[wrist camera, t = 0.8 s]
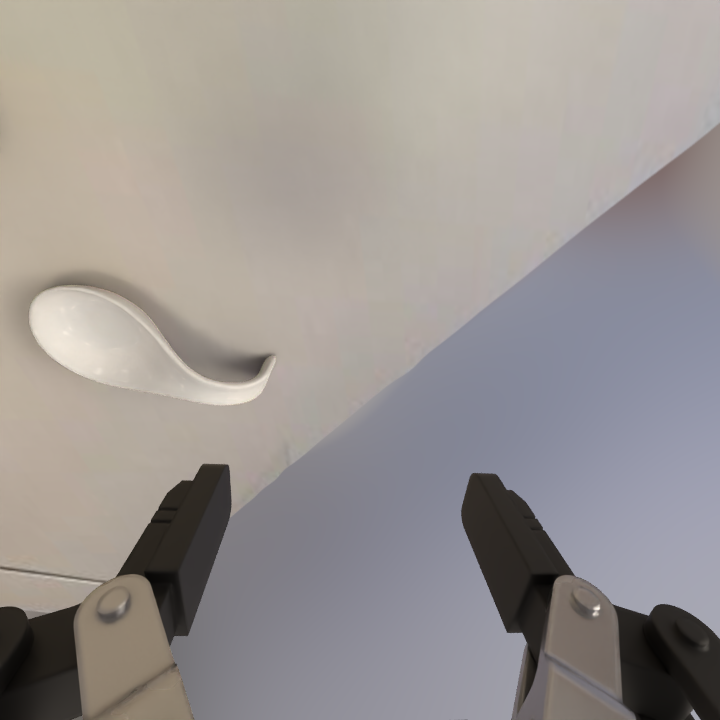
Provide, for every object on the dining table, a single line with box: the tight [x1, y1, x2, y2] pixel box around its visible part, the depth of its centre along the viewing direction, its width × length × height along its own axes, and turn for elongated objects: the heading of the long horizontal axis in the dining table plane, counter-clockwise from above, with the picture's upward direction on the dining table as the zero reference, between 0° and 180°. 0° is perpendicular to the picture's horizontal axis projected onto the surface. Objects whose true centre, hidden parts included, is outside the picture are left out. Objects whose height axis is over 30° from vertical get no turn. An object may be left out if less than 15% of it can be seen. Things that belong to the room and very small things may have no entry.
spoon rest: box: [29, 285, 276, 405], centre depth 37 cm, size 24×12×7 cm, turn 64°
